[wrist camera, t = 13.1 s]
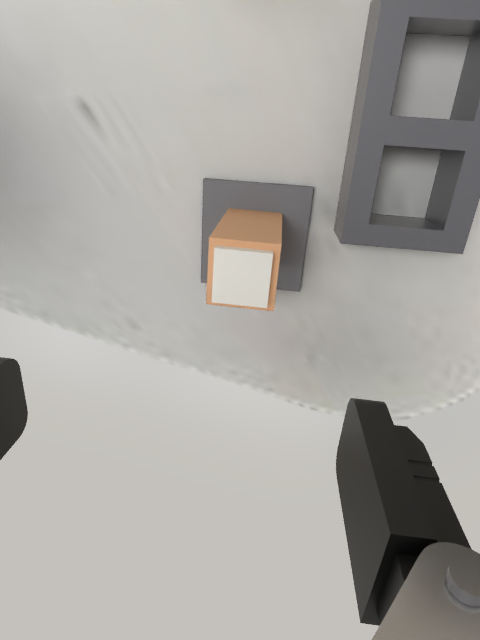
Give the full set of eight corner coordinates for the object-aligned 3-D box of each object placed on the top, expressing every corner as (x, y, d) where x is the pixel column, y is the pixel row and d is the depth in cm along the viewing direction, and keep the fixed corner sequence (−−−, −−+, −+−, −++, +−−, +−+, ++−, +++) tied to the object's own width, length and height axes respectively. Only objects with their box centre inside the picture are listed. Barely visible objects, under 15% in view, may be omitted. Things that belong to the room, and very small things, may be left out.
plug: (225, 259, 33) (204, 308, 24) (228, 208, 31) (207, 239, 22) (276, 264, 32) (273, 315, 24) (282, 213, 31) (281, 247, 22)
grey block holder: (334, 229, 31) (340, 243, 28) (370, 2, 25) (384, -18, 22) (442, 238, 31) (462, 253, 27) (505, 9, 25) (542, -10, 21)
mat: (202, 279, 34) (200, 282, 34) (204, 178, 31) (203, 179, 30) (299, 288, 34) (299, 291, 33) (313, 186, 30) (313, 187, 30)
